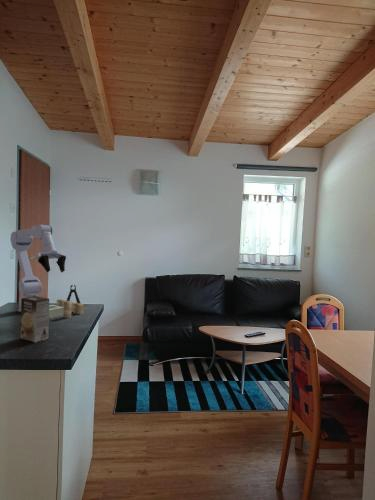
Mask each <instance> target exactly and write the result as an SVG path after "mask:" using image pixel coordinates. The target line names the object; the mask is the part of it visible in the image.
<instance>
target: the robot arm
mask: <svg viewBox="0 0 375 500" xmlns="http://www.w3.org/2000/svg"><path fill="white" fill-rule="evenodd" d="M34 238H37V239H38V240H39V241H40V245H41V249H42V251H43V252H37V253H36V254H35V258H36V259H37V262H38V263H39V264H40V265H41V266H42V268H43V270H45V271H46V273H49V272H50V271H51V266H50V262H49V260H50V259H57V260H56V261H55V263H56V264H57V266H58V268H59V271H60V273H64V272H65V271H66V270H65V269H66V267H65V265H66V261H67V256H66V254H65V253H61V252H58V250H57V249H56V245H55V242H54V239H53V238H54V237H53V227H52V226H51V225H50V224H47V225H46V224H34V226H32V227H30V229H29V228H27V229H18V230H15V231H12V232H11V234H10V243H11V247H12V249H13V250H15V253H16V257H17V260H18V263H19V268H20V271H21V275H22V278H21V279H20V280H19V282H18V289H19V293H20V294H21V295H20V297H19V301H18V303H19V307H18V309H17V312H20V313H21V298H26V297H32V296H38V297H39V295H40V293H41V292H42V290H43V285H42V282H41V281H40V279H39V277H37V276H35V275H34V273H33V269H32V266H31V262H30V258H29V255H28V252H27V250H30V248H31V247H32V243H33V240H34Z"/></svg>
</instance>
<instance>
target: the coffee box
mask: <svg viewBox="0 0 375 500" xmlns="http://www.w3.org/2000/svg"><path fill="white" fill-rule="evenodd" d="M49 305H50V298H47V297H44V296H43V297H42V296H39V295H38V296H32V297H26V298H21V312H20V316H21V317H20V339H22V340H26V341H28V340H29V342H31V341H32V342H31V343H38V341H39V342H41V340H42V341H45V340H49V325H50V324H49V323H50V322H49V321H50V318H49Z"/></svg>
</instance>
